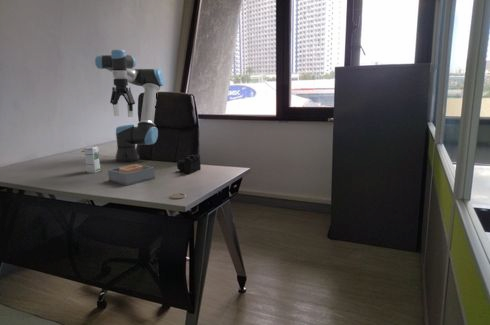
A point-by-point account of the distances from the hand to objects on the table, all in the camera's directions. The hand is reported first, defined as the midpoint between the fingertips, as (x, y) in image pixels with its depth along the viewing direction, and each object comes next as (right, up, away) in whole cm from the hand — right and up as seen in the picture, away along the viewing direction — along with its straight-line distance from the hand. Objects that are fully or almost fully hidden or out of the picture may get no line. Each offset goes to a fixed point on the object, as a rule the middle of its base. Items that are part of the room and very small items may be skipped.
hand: (123, 116), depth 208 cm
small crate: (+10, -35, -15) cm, 39 cm away
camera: (+37, -32, +3) cm, 49 cm away
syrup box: (-19, -32, +4) cm, 37 cm away
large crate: (+10, -36, -15) cm, 40 cm away
